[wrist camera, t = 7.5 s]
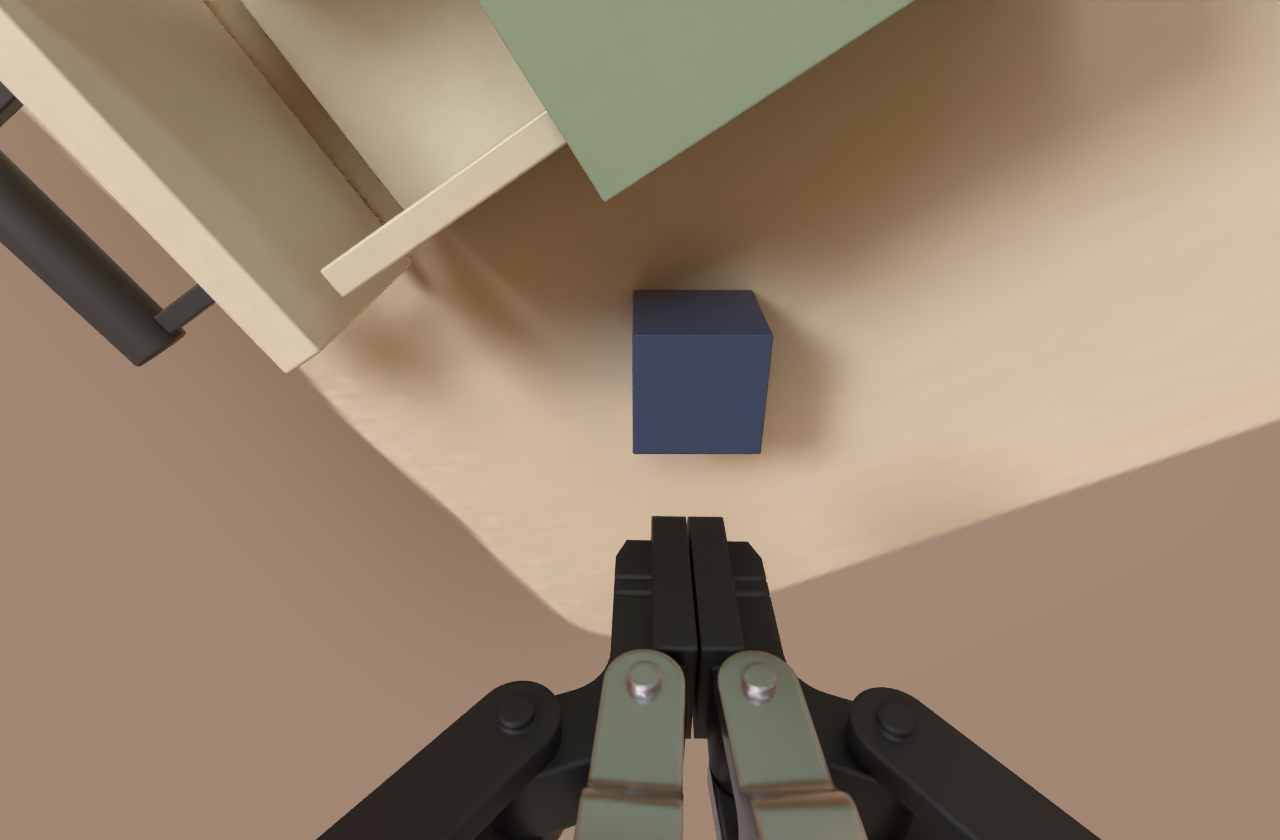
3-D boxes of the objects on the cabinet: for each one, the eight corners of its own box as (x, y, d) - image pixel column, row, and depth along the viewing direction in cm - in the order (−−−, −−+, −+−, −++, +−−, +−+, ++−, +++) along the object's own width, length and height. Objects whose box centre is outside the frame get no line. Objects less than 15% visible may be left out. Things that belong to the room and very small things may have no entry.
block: (752, 289, 25) (773, 334, 21) (743, 396, 27) (760, 454, 23) (633, 289, 25) (632, 334, 21) (633, 396, 27) (633, 454, 23)
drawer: (278, 355, 25) (143, 471, 18) (-7, 60, 20) (-337, 66, 13) (726, 48, 20) (772, 48, 13) (489, -436, 15) (372, -823, 8)
